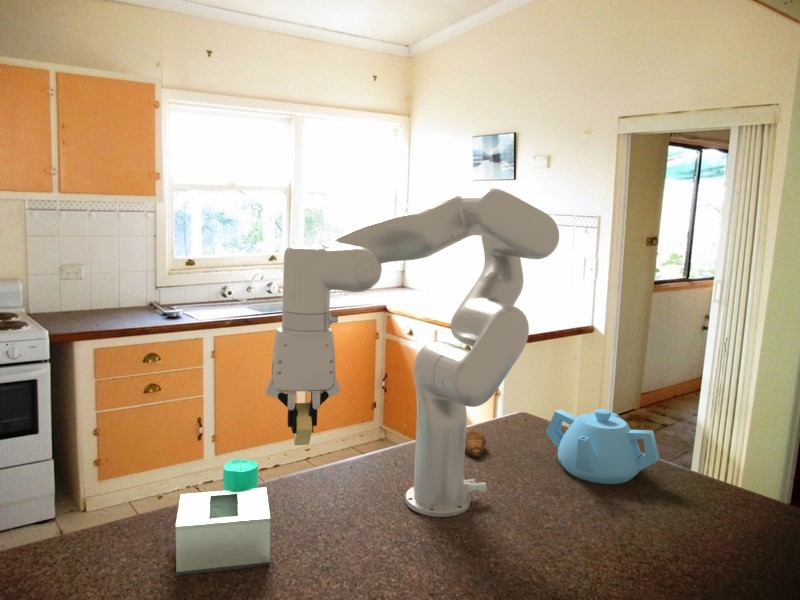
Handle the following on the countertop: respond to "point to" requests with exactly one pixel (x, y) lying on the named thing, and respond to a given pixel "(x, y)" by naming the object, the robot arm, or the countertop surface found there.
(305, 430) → the block
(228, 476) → the candle
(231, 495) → the coin box
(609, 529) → the countertop surface
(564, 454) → the teapot
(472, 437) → the croissant
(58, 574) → the countertop surface
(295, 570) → the countertop surface
